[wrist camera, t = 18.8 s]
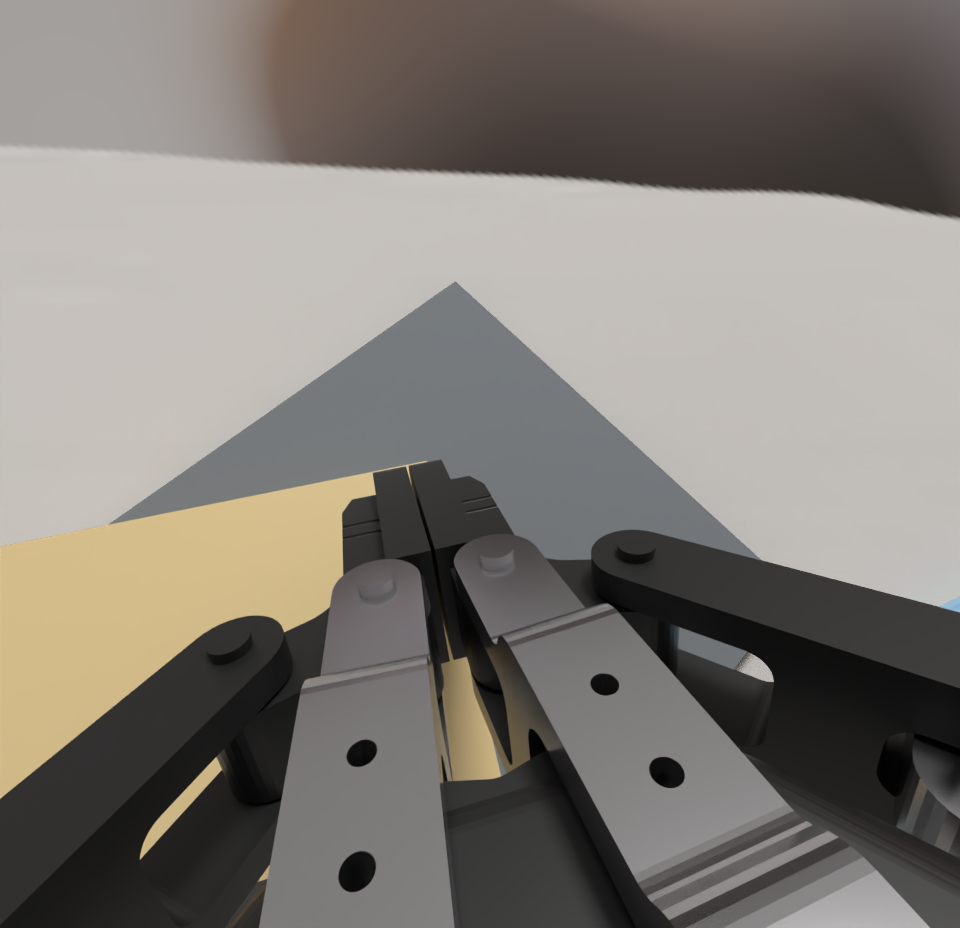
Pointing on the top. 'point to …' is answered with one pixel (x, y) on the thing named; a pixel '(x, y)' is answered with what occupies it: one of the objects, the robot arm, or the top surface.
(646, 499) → the mat
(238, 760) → the robot arm
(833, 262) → the top surface
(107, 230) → the top surface
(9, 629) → the yellow block
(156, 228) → the top surface
